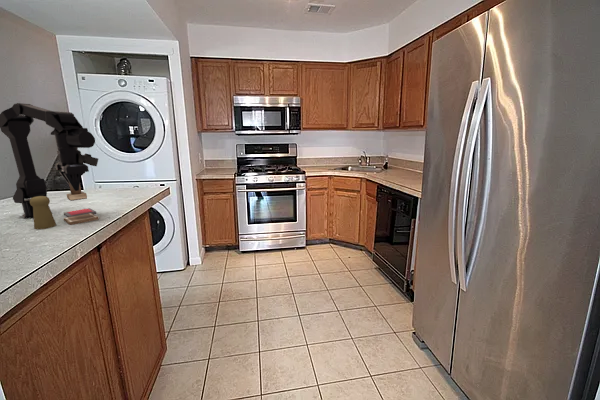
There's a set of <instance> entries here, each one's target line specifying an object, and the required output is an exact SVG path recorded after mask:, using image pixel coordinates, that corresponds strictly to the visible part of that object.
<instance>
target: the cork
mask: <svg viewBox="0 0 600 400" xmlns="http://www.w3.org/2000/svg"><path fill="white" fill-rule="evenodd" d="M50 201H51V200H50V198H49V197H48V196H47V197H46V196H37V197H33V198H31V199H30V204H31V206H33V216H34V217H33V228H34V230H45V229H51V228H54V227H56V226H57V223H56V220H55V217H54V215H53V213H52V210H51V208H50V203H51V202H50Z"/></svg>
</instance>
